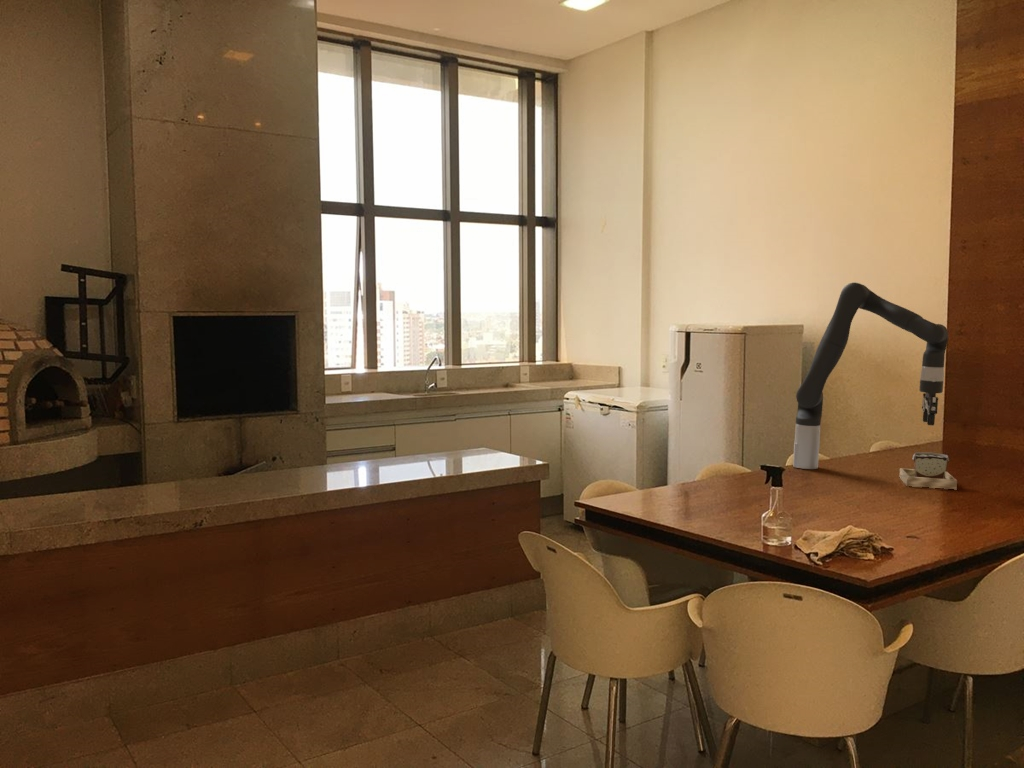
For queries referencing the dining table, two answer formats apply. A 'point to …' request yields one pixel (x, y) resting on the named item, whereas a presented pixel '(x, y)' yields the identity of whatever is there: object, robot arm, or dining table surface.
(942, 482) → the whitewashed wooden tray
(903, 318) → the robot arm
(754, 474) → the dining table surface
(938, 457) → the food container
